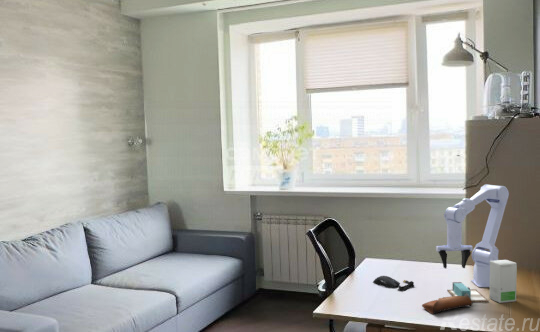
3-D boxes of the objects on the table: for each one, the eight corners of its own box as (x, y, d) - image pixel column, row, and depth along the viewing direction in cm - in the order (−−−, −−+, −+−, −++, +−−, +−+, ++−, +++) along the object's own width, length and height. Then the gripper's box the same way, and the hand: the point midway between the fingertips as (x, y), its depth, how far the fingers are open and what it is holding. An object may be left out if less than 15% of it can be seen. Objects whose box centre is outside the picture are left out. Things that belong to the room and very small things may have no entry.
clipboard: (447, 291, 220) (447, 287, 220) (476, 290, 220) (476, 287, 220) (458, 302, 206) (458, 298, 206) (488, 302, 206) (488, 298, 206)
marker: (452, 290, 219) (452, 282, 218) (461, 290, 219) (461, 282, 218) (464, 302, 204) (464, 293, 204) (473, 302, 204) (473, 293, 204)
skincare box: (499, 303, 204) (499, 264, 203) (488, 298, 210) (488, 260, 209) (517, 301, 206) (517, 262, 205) (505, 295, 213) (506, 258, 211)
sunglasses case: (456, 297, 208) (463, 287, 204) (467, 312, 203) (474, 302, 199) (419, 305, 201) (426, 294, 197) (429, 320, 196) (436, 309, 192)
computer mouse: (388, 278, 242) (387, 269, 242) (419, 287, 228) (419, 278, 228) (370, 283, 235) (370, 274, 235) (401, 293, 221) (401, 283, 221)
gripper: (439, 238, 213) (439, 270, 215) (475, 237, 213) (475, 270, 214) (434, 234, 221) (434, 265, 222) (469, 234, 220) (469, 265, 221)
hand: (454, 267), depth 218 cm, fingers open, 7 cm apart
